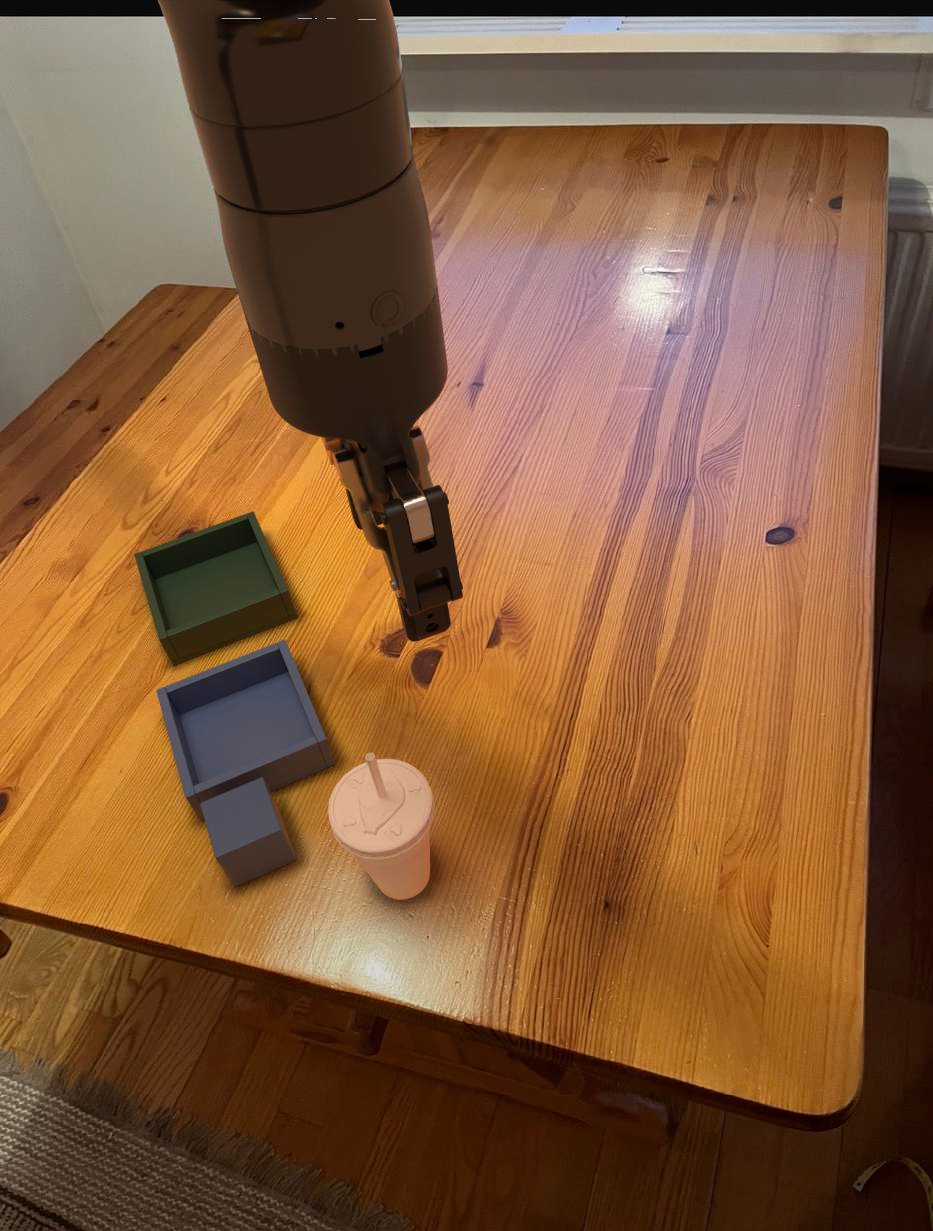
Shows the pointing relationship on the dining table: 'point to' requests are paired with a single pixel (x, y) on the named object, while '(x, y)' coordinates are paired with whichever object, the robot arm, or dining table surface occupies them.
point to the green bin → (213, 588)
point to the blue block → (247, 832)
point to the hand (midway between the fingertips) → (400, 574)
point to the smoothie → (386, 823)
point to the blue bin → (243, 726)
